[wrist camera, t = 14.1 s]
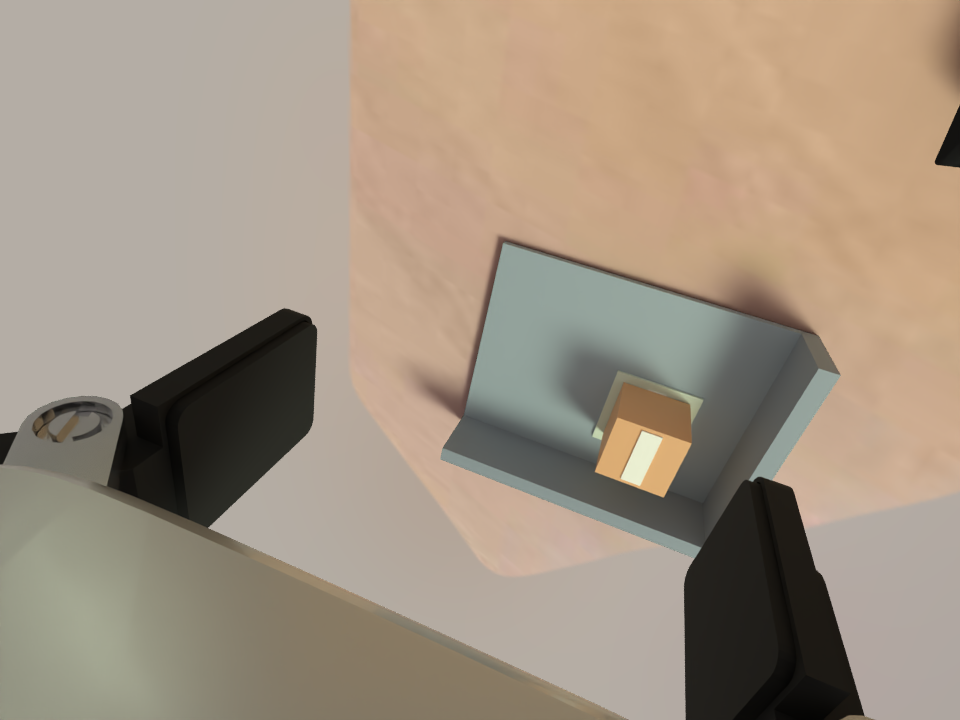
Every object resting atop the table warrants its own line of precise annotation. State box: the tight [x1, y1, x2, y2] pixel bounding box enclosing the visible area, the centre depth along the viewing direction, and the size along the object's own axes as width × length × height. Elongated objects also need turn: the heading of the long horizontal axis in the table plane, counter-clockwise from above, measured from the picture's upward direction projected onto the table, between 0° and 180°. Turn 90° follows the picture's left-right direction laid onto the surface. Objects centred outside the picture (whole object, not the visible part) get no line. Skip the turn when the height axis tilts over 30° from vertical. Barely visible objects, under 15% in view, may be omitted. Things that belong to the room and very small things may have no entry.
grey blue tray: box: [440, 241, 841, 558], centre depth 39 cm, size 22×17×6 cm
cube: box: [595, 382, 692, 498], centre depth 39 cm, size 5×5×5 cm
